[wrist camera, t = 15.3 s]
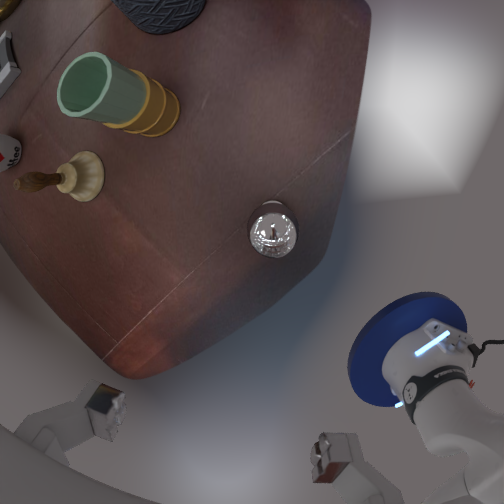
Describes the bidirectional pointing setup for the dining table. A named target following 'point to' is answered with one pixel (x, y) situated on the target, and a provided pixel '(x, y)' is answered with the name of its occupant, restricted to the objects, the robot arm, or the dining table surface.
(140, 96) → the sage cup
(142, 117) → the cup stack
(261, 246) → the wineglass
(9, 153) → the cup
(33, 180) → the hand bell
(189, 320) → the dining table surface
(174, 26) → the vase
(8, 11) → the lamp
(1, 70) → the alarm clock
